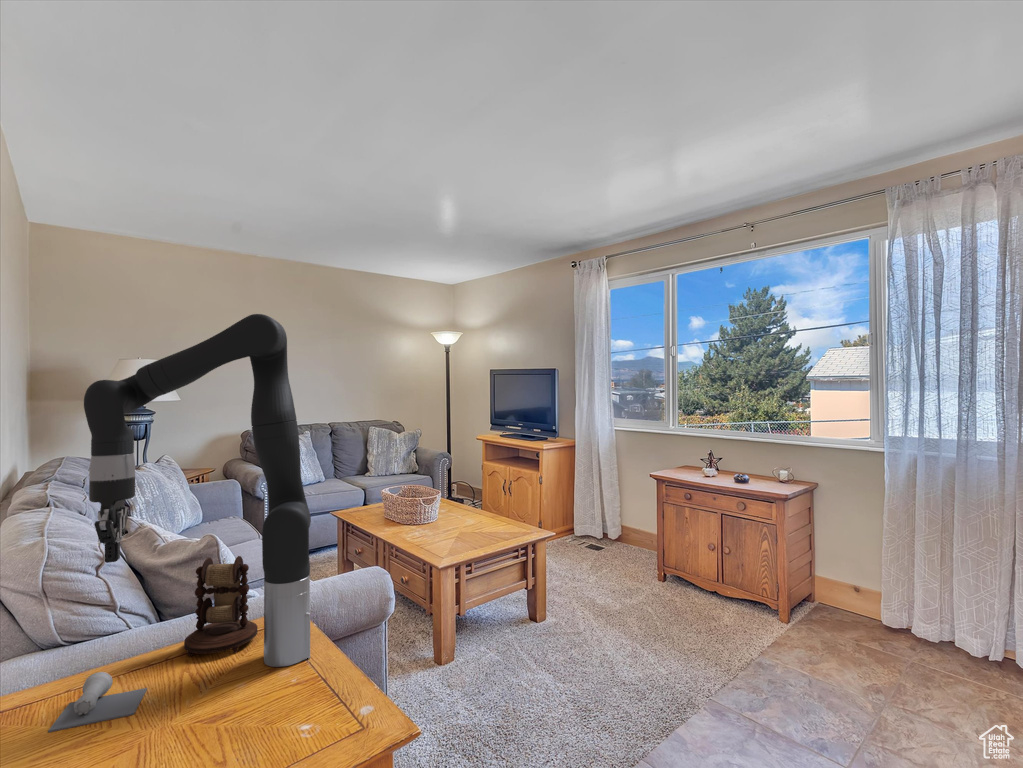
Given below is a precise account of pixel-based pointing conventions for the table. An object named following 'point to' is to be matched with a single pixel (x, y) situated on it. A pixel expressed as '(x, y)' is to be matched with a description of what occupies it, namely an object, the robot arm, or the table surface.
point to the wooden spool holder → (221, 609)
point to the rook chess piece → (93, 692)
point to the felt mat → (101, 710)
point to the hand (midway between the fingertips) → (112, 561)
